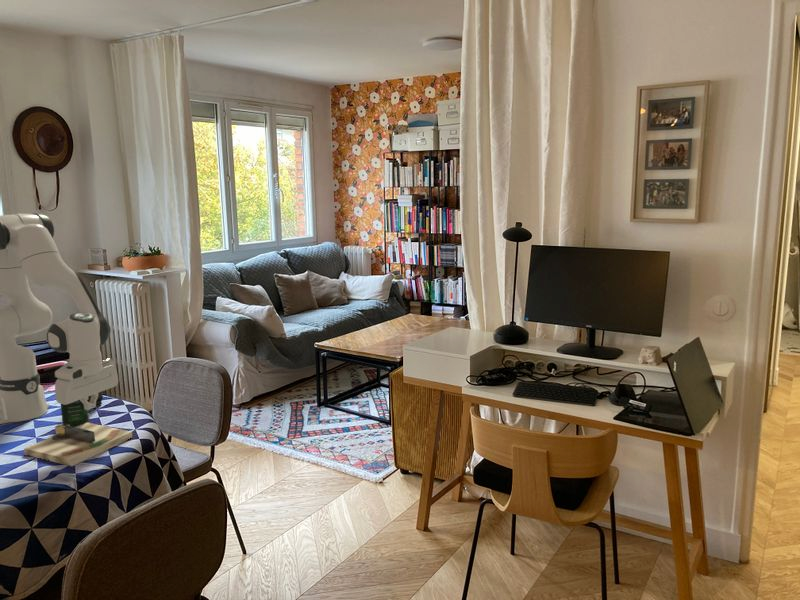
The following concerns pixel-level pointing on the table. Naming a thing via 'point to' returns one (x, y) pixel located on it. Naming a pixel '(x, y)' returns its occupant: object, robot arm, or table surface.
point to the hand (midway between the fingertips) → (90, 408)
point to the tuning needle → (74, 433)
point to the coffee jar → (74, 414)
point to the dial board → (78, 445)
